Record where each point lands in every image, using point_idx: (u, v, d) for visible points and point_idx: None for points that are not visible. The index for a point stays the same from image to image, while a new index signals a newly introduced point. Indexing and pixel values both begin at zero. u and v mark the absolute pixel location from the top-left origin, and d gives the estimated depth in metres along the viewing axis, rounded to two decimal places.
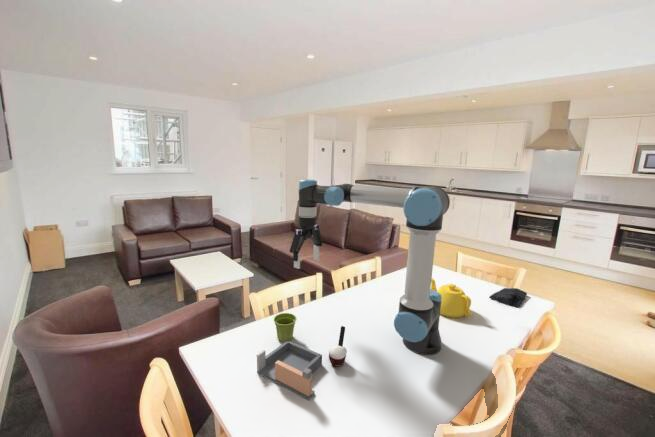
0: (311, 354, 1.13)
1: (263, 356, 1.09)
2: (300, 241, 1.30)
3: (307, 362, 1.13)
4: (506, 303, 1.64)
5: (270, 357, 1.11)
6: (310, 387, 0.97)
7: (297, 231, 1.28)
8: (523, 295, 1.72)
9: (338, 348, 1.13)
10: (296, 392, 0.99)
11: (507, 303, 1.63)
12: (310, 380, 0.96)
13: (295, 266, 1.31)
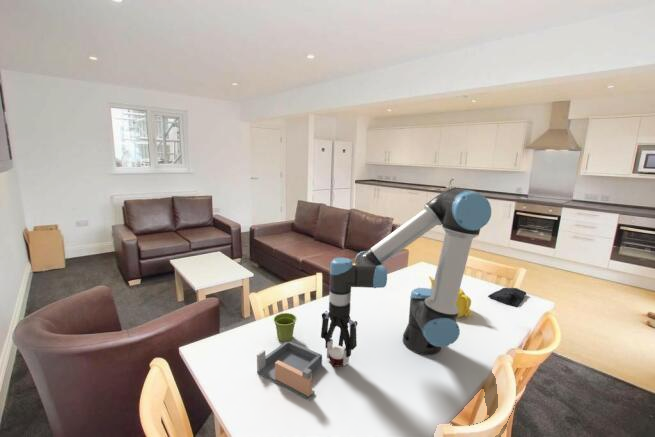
0: (311, 354, 1.13)
1: (263, 356, 1.09)
2: None
3: (307, 362, 1.13)
4: (504, 302, 1.65)
5: (270, 357, 1.11)
6: (310, 387, 0.97)
7: None
8: (522, 294, 1.72)
9: (338, 348, 1.12)
10: (296, 392, 0.99)
11: (506, 302, 1.64)
12: (310, 380, 0.96)
13: None
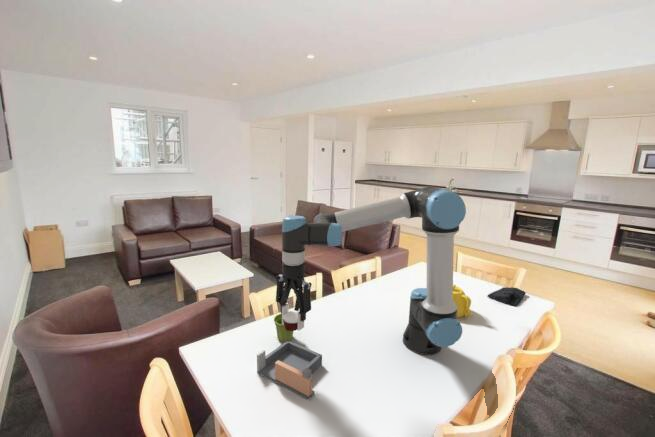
0: (311, 354, 1.13)
1: (263, 356, 1.09)
2: None
3: (307, 362, 1.13)
4: (504, 302, 1.65)
5: (270, 357, 1.11)
6: (310, 387, 0.97)
7: None
8: (521, 294, 1.73)
9: (293, 312, 1.06)
10: (296, 392, 0.99)
11: (505, 301, 1.65)
12: (310, 380, 0.96)
13: None
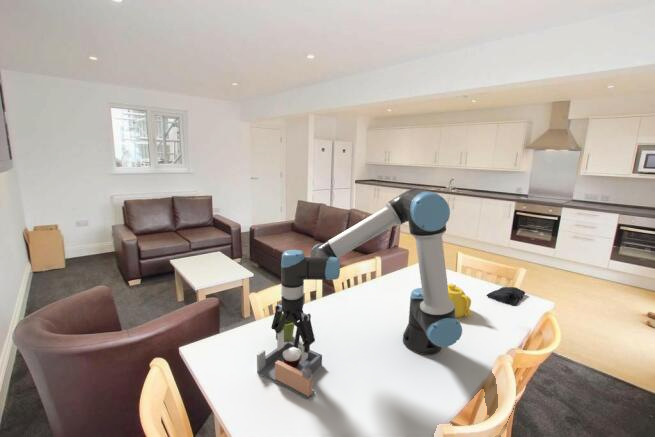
0: (311, 354, 1.13)
1: (263, 356, 1.09)
2: None
3: (307, 362, 1.13)
4: (502, 301, 1.66)
5: (270, 357, 1.11)
6: (310, 387, 0.97)
7: None
8: (520, 293, 1.73)
9: (292, 350, 1.09)
10: (296, 392, 0.99)
11: (504, 301, 1.65)
12: (310, 380, 0.96)
13: None
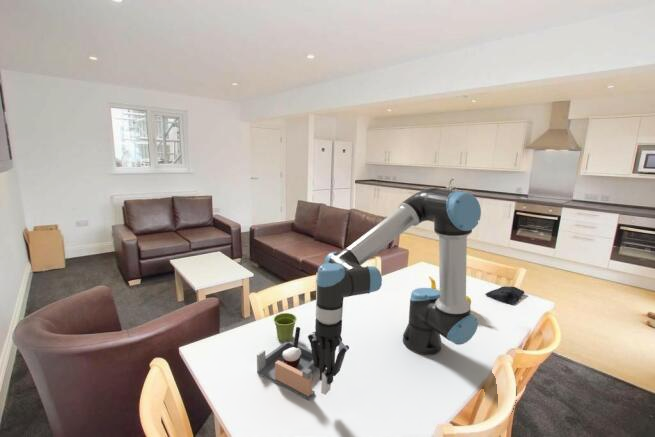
0: (311, 354, 1.13)
1: (263, 356, 1.09)
2: None
3: (307, 362, 1.13)
4: (501, 300, 1.67)
5: (270, 357, 1.11)
6: (310, 387, 0.97)
7: None
8: (519, 293, 1.74)
9: (292, 350, 1.09)
10: (296, 392, 0.99)
11: (502, 300, 1.66)
12: (310, 380, 0.96)
13: None
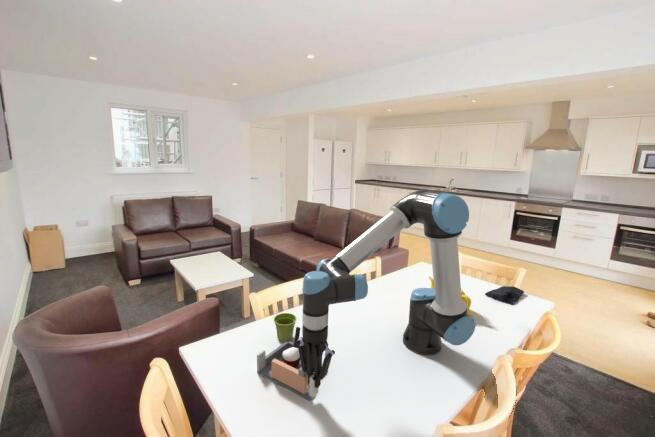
0: None
1: (263, 356, 1.09)
2: None
3: None
4: (500, 300, 1.67)
5: (270, 357, 1.11)
6: (306, 385, 0.98)
7: None
8: (519, 293, 1.74)
9: (292, 350, 1.09)
10: (296, 392, 0.99)
11: (501, 300, 1.67)
12: (306, 378, 0.97)
13: None
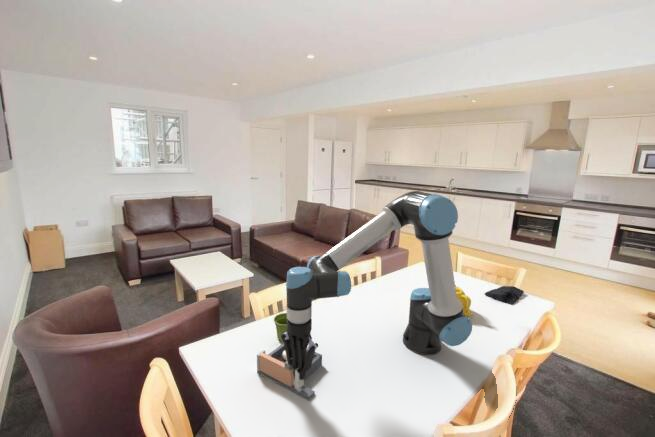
0: None
1: None
2: None
3: None
4: (500, 300, 1.68)
5: None
6: (292, 378, 1.01)
7: None
8: (519, 293, 1.74)
9: None
10: (296, 392, 0.99)
11: (501, 299, 1.67)
12: (292, 371, 1.00)
13: None
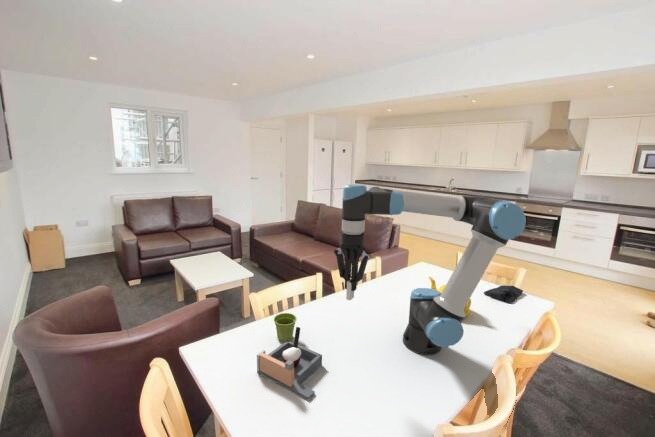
0: (311, 354, 1.13)
1: None
2: None
3: (307, 362, 1.13)
4: (498, 299, 1.69)
5: None
6: (292, 378, 1.00)
7: None
8: (518, 292, 1.75)
9: (292, 350, 1.09)
10: (296, 392, 0.99)
11: (500, 298, 1.68)
12: (292, 371, 1.00)
13: None
